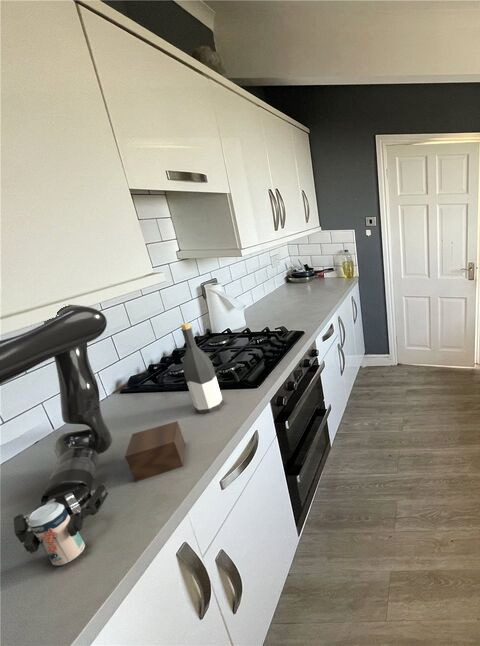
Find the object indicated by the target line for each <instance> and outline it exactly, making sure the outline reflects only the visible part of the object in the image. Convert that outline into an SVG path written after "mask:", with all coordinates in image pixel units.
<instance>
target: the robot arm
mask: <svg viewBox="0 0 480 646" xmlns="http://www.w3.org/2000/svg"><path fill="white" fill-rule="evenodd" d="M57 315H59V316H57ZM57 315H56V317H55V318H52V319H49V320H47V321H44V320H43V324H40V325H38V326H36V327H34V328H33V329H30V330H28V331H26V332H24V333H21V334H18V335H14V336H12V337H8V338H5V339H1V340H0V386H1V385H3V384H5V383H7V382H9V381H11V380H13V379H15V378H16V377H19V376H20V375H23V374H25V373H26V372H28V371H29V370H32V369H33V368H35V367H37V366H38V365H40V364H42V363H44V362H46V361H48V360H50V359H52V358H54V363H55V367H56V373H57V379H58V386H59V387H58V388H59V396H60V397H59V400H60V410H61V419H62V421H63V423H64V424H68V425H85V426H87V427H89V428H84V429H78V430H72V431H66V432H64V433H62V434H60V435H59V436H58V437H57V438H56V439H55V442H54V445H53V446H54V454H55V456H56V459H57V462H56V465H55V467H54V470H53V471H52V473H51V474H50V476H49V478H48V480H47V483H46V485H45V488H44V490H43V492H42V495H41V498H40V503H39V505H38V506H37V507H36V508H35V509H34V511H35V510H37V509H38V508H40V507H42V506H44V505H46V504H48V503H55V502H57V503H59V504H62V505H64V507H65V509H66V511H67V513H68V514H69V516H70V521H69V525H68V528H67V530H68V532H69V534H70V536H71V537H72V536H75V535H77V532H78V533H79V532H80V531H81V530H82V528H83V524H84V521H85V520H86V519H87V517H89V516H94V515H96V514H97V513H99V511H100V508H101V507H102V506H103V504H104V502H105V500H106V499H107V497H108V495H109V493H108V490H107V488H106V486H105V484H101V485H98V486H97V487H96V489H93V487H94V482H95V479H96V473H97V472H96V469H97V464H98V461H99V455H101V454H103V453H106V452H107V451H108V450H109V449H110V447H111V446H112V443H113V437H112V434H111V431H110V429H109V427H108V426H107V424H106V422H105V420H104V417H103V415H102V410H101V400H100V398H101V397H100V389H99V384H98V380H97V378H96V375H95V373H94V371H93V368H92V365H91V363H90V360H89V354H88V343H91V342H93V341H95V340H96V339H98V338H99V337H100V336H101V335H102V334H103V333H104V332H105V331H106V328H107V326H108V325H107V324H108V321H107V317H106V315H105V314H104V313H103V312H101V311H100V310H98V309H96V308H95V307H94V308H93V307H90V306H86V305H80V304H68V306H65V307H63V308H61V309H60V310H59V311H58V312H57ZM84 505H85V506H84ZM83 506H84V507H83ZM34 511H33V512H34ZM33 512H30V513H28V514H26V515H23V513H20V514H18V515H15V516H14V517H13V529H14V535H15V536H16V538H17V539H18V541H19V542H20V543H21V544H22V543H23V544H22V545H23V547H24V549H25V551H26V552H27V553H28V552H29V553H30V554H33V553H36V552H37V551H38V549H39V547H40V545H41V544H40V542H39V541H38V539H37V537H36V536H35V534H34V533H33V531H32V529H31V528H30V526H29V525H28V521H29V517H30V515H31V514H32V513H33Z"/></svg>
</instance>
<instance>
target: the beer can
mask: <svg viewBox="0 0 480 646" xmlns="http://www.w3.org/2000/svg"><path fill="white" fill-rule="evenodd" d="M31 513H32V512H31ZM70 518H71V515H70V516H69V514H68V513H67V511H66V509H65V507H64V505H62V504H59V503H57V502H55V503H48V504H46V505H44V506H42V507H40V508H38V509H37V510H35V509H34V510H33V513H32V514H31V515H30V517H29V521H28V525H29V527H30V528H31V529H32V531H33V533H34V534H35V536H36V537H37V539H38V541H39V542H40V544H39V545H41V547H42V549H43V550H44V553H46V555H47V557H48V558H49V560H50V562H51V564H52V565H53V566H62V565H65V564H68V563H69V562H72V561H73V560H74V559H76V558H77V557H79V555H80V554H82V552H83V551H84V550H85V547H86V543H85V542H84V540H83V538H82V536H81V535H80V532H79V531H78V532H77V535H75V536H72V537H71V536H70V534H69V532H68V530H67V528H68V525H69V521H70Z"/></svg>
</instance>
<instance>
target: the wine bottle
mask: <svg viewBox="0 0 480 646" xmlns="http://www.w3.org/2000/svg"><path fill="white" fill-rule="evenodd" d="M180 327H181V329H180V331H181V332H182V337H183V339H184V342H185V345H186V350H185V352H184V356H183V359H182V372H183V375H184V378H185V381H186V384H187V385H186V386H187V387H188V391H189V393H190V394H189V395H190V397H191V400H192V403H193V406H194V409H195V411H196V412H197V413H199V414H200V415H202V414H210V413H213V412H214V411H215V412H216V410H219V409H220V408H221V407H222V406H223V404H224V400H223V399H224V398H223V395H222V393H221V388H220V386H219V381H218V379H217V374H216V372H215V367H214V364H213V362H212V361H211V358H210V357H209V356H208V355H207V354H206V353H205V351H203V350H202V349H201V348H199V347H198V346H197V343H196V339H195V337H194V333H193V328H192V327H191V325H190V323H188V322H184V323H181V324H180Z"/></svg>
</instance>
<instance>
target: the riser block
mask: <svg viewBox="0 0 480 646" xmlns="http://www.w3.org/2000/svg"><path fill="white" fill-rule="evenodd" d="M185 453H186V442H185V439H184V435H183V432H182V429H181V427H180V424H179V422H178V420H176V421H172V422H170V423H166V424H162V425H159V426H155V427H152V428H148V429H145V430H141V431H138V432H134V433H132V434H131V437H130V440H129V443H128V446H127V449H126V452H125V454H124V458H125V461H126V463H127V465H128V467H129V470H130V473H131V475H132V477H133V479H134V482H140V481H142V480H145V479H149V478H151V477H154V476H158V475H160V474H161V475H162V474H164V473H166V472H170V471H172V470H175V469H179V468H182V467H184V462H185Z"/></svg>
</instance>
